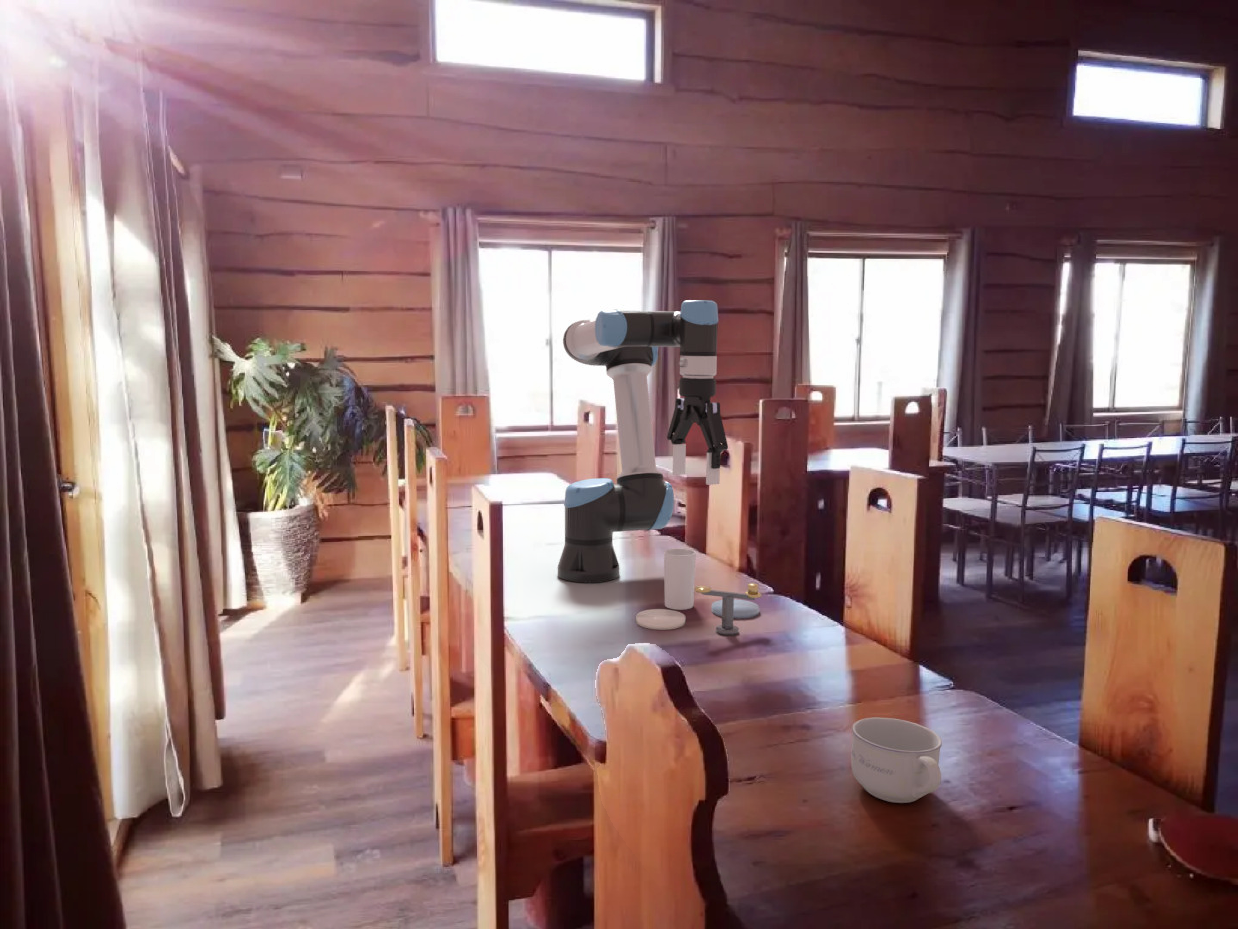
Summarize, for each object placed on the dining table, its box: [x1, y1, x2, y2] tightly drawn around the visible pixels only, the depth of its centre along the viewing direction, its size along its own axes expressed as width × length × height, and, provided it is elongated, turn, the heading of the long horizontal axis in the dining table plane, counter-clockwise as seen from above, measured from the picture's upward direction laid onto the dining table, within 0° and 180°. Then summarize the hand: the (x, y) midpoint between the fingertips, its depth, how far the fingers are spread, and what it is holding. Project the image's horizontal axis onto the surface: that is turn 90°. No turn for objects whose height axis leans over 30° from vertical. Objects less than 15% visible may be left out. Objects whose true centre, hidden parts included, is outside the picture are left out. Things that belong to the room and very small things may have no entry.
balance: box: [694, 582, 762, 637], centre depth 175 cm, size 4×15×10 cm, turn 116°
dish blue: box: [711, 598, 760, 619], centre depth 189 cm, size 10×10×1 cm
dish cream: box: [635, 608, 686, 631], centre depth 181 cm, size 10×10×1 cm
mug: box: [663, 547, 697, 611], centre depth 194 cm, size 10×7×12 cm, turn 10°
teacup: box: [850, 716, 943, 804], centre depth 111 cm, size 14×11×8 cm
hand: (695, 479), depth 185 cm, fingers open, 13 cm apart
